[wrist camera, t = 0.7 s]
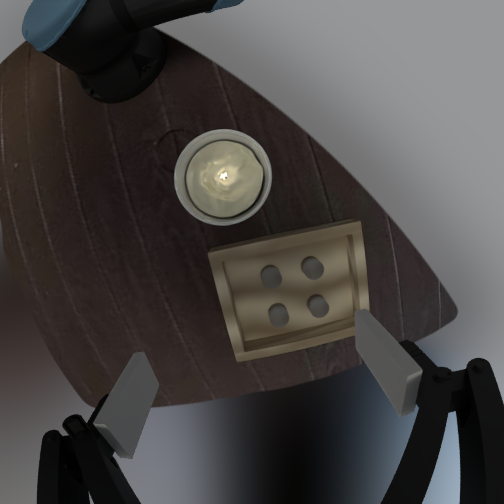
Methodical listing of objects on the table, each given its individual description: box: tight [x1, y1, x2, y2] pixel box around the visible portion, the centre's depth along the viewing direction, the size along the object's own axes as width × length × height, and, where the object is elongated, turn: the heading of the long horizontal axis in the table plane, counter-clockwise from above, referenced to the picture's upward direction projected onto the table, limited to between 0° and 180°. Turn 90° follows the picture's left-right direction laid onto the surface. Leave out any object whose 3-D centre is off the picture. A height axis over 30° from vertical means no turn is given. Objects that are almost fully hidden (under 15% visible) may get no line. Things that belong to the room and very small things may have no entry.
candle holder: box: [174, 129, 272, 225], centre depth 32 cm, size 10×10×12 cm
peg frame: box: [208, 219, 370, 362], centre depth 39 cm, size 17×21×4 cm
